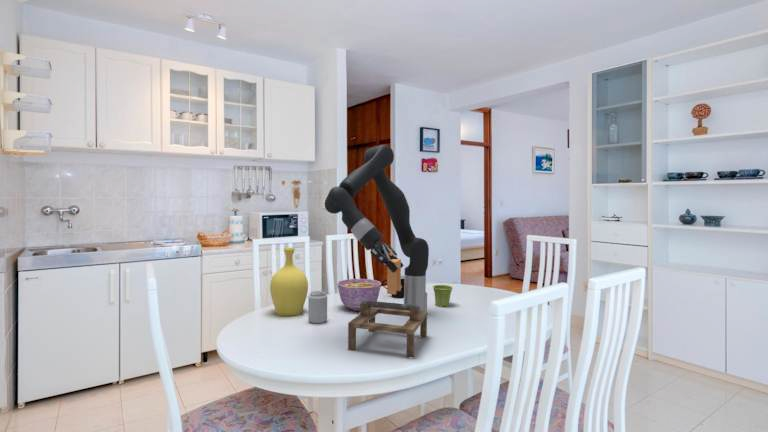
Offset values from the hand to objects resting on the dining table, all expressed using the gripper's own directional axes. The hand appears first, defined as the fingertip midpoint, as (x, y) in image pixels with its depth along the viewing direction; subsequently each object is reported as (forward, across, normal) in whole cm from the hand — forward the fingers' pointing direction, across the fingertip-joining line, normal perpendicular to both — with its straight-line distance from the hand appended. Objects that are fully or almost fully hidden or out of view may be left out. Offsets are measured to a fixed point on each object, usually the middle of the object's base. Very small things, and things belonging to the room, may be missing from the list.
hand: (398, 268), depth 145 cm
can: (-8, +13, +45) cm, 48 cm away
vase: (-20, +21, +57) cm, 64 cm away
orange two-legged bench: (+5, 0, +7) cm, 8 cm away
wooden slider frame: (+16, 0, +21) cm, 26 cm away
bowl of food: (-2, +38, +39) cm, 54 cm away
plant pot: (+23, +56, +15) cm, 62 cm away
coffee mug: (+5, +65, +33) cm, 73 cm away
